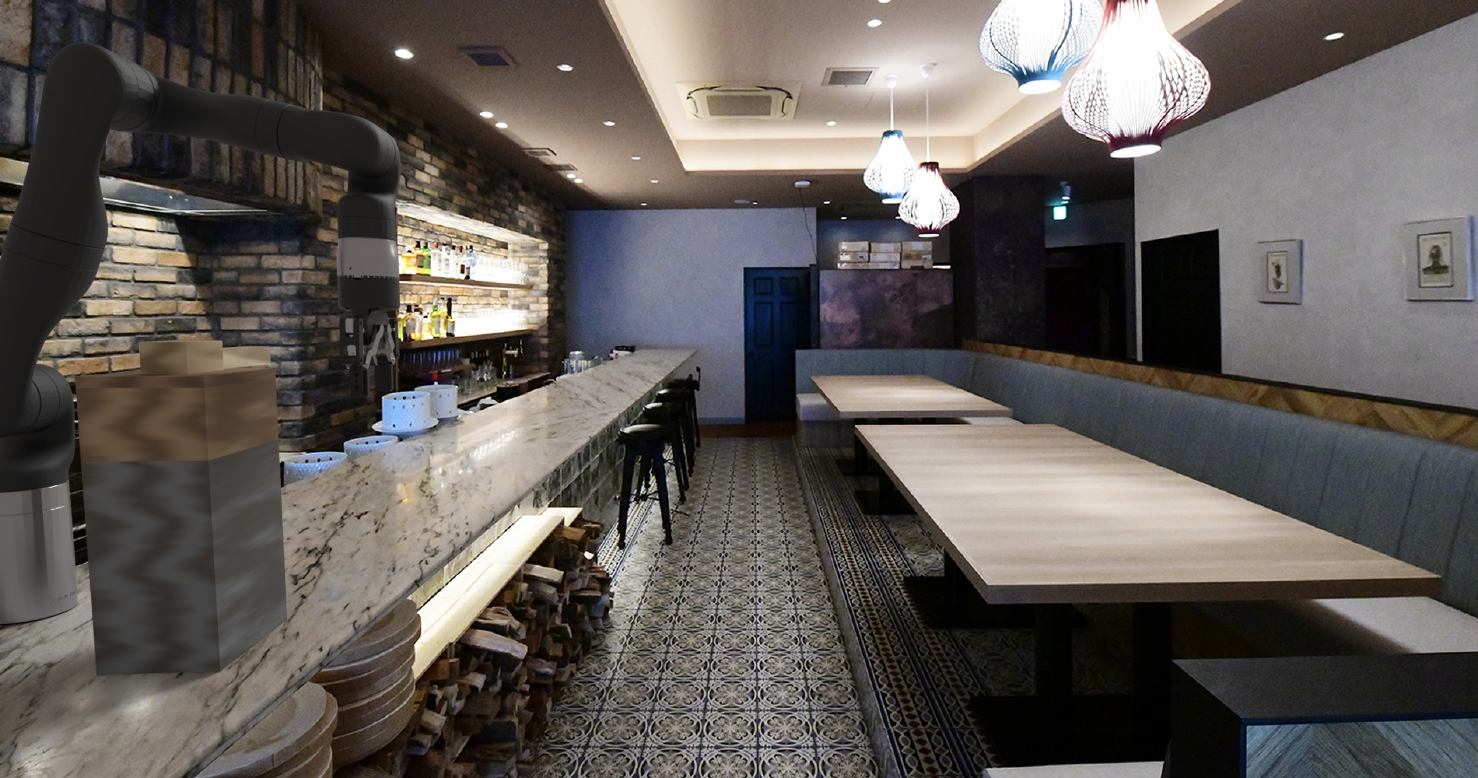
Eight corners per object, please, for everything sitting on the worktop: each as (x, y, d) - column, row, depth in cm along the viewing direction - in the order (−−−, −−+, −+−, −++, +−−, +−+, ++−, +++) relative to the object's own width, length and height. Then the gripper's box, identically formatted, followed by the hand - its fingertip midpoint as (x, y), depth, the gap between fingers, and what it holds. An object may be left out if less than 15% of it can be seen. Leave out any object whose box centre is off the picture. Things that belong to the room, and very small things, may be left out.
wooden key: (140, 374, 85) (138, 342, 85) (240, 363, 105) (239, 337, 105) (187, 374, 86) (185, 342, 86) (278, 363, 106) (277, 337, 105)
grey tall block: (96, 675, 84) (74, 376, 81) (182, 621, 99) (167, 367, 96) (220, 671, 85) (203, 376, 82) (287, 618, 100) (275, 367, 97)
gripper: (361, 277, 109) (365, 389, 110) (315, 270, 95) (320, 400, 96) (415, 277, 109) (418, 389, 111) (377, 271, 95) (381, 400, 97)
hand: (373, 394), depth 104 cm, fingers open, 8 cm apart
